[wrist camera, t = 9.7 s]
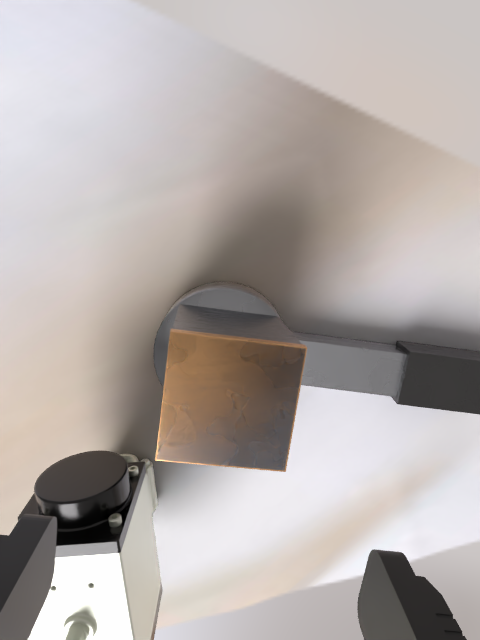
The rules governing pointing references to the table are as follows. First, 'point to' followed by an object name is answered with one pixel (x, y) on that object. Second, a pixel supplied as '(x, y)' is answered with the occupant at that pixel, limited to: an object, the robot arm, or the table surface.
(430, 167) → the table surface
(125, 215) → the table surface
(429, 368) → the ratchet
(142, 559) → the pneumatic valve
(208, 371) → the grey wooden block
